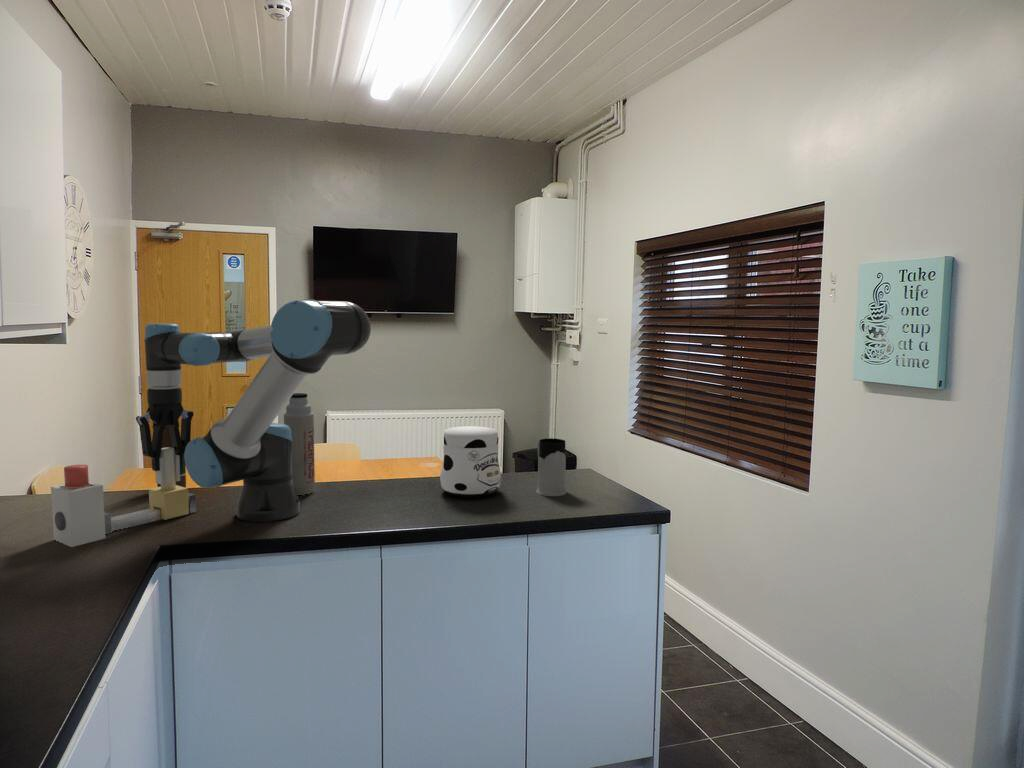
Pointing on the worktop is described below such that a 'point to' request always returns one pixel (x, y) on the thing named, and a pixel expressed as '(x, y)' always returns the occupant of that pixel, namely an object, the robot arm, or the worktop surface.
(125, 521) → the rail
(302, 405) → the thermos bottle
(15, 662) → the worktop surface
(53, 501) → the white button housing
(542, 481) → the glass holder
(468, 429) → the milk container
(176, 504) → the carriage
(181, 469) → the beer bottle
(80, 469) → the gauge button
